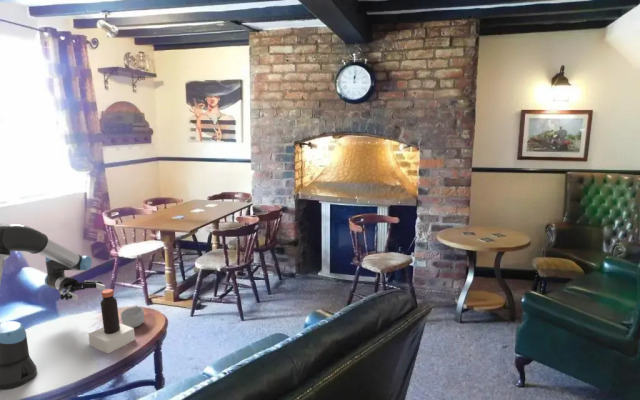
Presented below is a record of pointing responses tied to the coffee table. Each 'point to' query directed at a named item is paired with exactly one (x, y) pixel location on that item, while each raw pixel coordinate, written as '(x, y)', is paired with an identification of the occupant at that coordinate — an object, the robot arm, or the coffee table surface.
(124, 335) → the riser
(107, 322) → the vinegar
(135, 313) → the teacup
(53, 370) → the coffee table surface
